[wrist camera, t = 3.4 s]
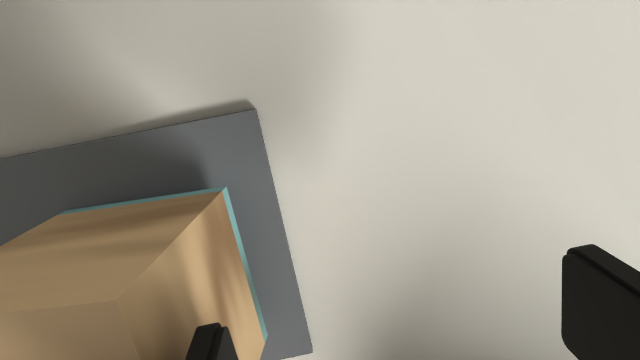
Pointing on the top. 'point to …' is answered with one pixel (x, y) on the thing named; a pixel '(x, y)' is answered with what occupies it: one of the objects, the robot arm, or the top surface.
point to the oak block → (129, 282)
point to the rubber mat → (166, 179)
